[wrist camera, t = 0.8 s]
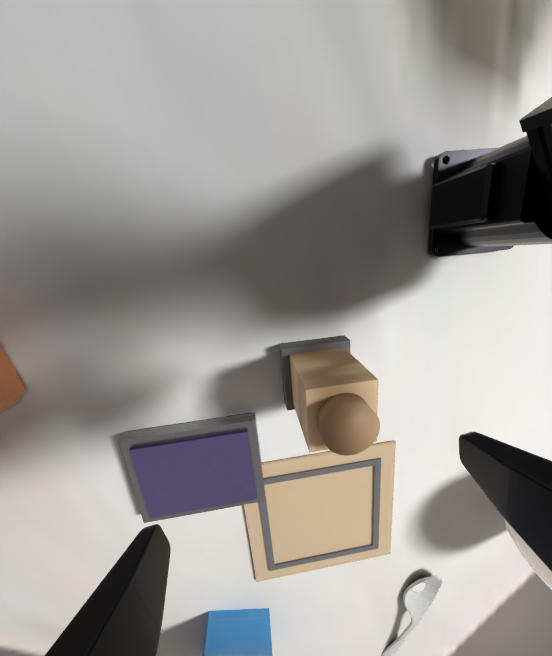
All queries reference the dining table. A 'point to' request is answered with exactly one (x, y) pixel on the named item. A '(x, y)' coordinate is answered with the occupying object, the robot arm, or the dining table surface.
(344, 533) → the print sheet
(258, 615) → the perfume bottle
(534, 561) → the lidded jar
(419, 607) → the spoon
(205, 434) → the ink pad
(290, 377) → the stamp
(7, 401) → the whiskey bottle
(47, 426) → the dining table surface
